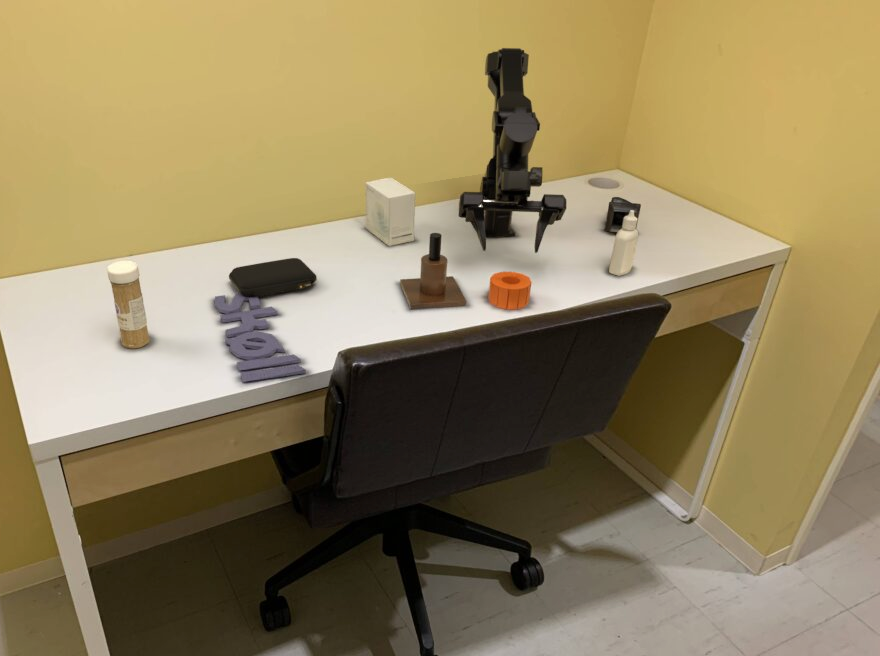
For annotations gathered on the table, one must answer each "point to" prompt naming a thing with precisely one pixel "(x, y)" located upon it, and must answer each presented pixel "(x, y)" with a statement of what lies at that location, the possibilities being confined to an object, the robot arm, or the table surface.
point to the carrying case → (272, 277)
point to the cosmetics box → (390, 211)
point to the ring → (509, 290)
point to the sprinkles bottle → (129, 303)
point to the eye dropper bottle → (624, 246)
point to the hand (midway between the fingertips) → (510, 251)
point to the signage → (254, 340)
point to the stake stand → (433, 281)
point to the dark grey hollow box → (619, 213)
